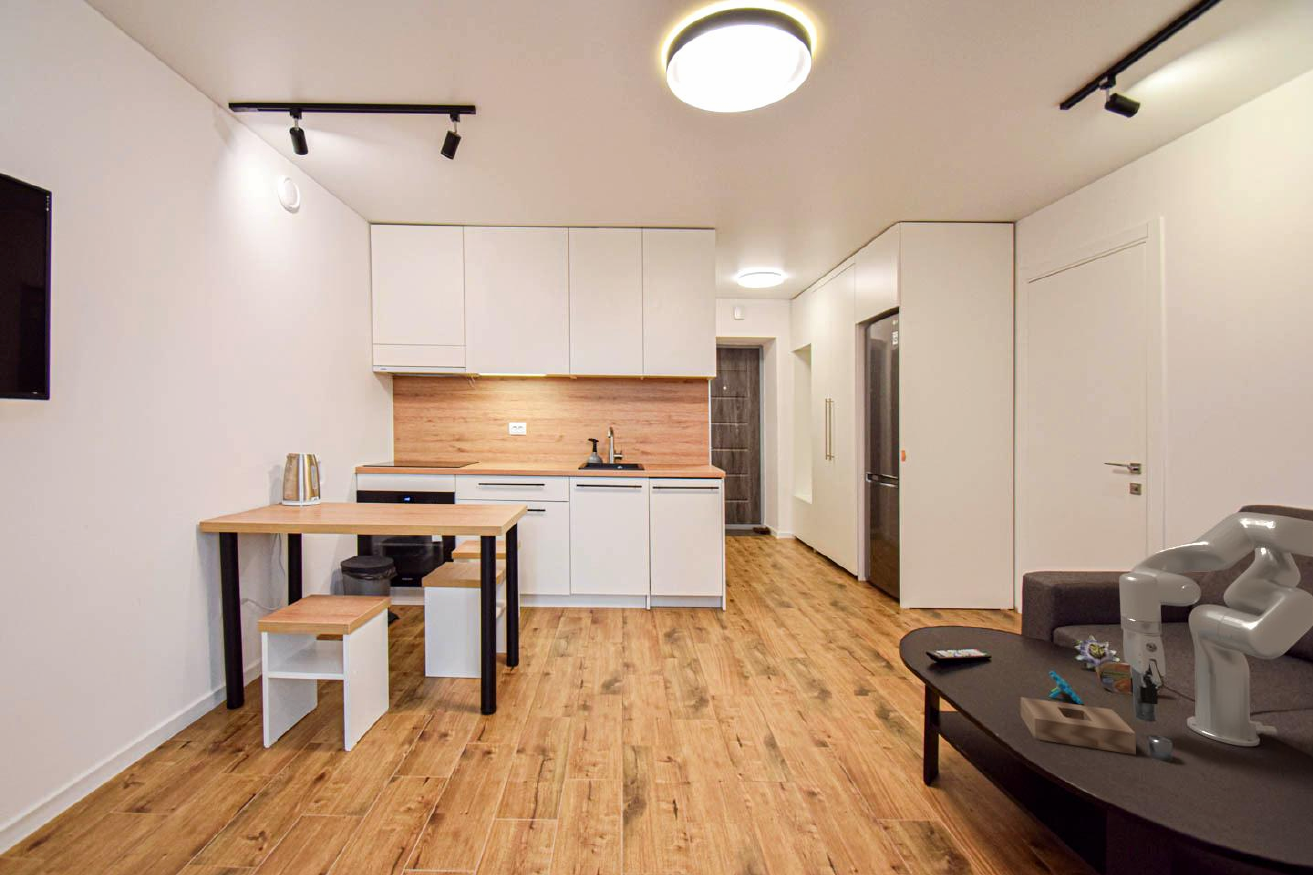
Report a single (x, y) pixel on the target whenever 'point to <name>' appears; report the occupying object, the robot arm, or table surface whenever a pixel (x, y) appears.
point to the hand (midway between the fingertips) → (1144, 697)
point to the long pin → (1140, 709)
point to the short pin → (1160, 748)
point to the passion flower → (1095, 653)
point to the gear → (1063, 688)
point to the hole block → (1078, 725)
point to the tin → (1119, 677)
